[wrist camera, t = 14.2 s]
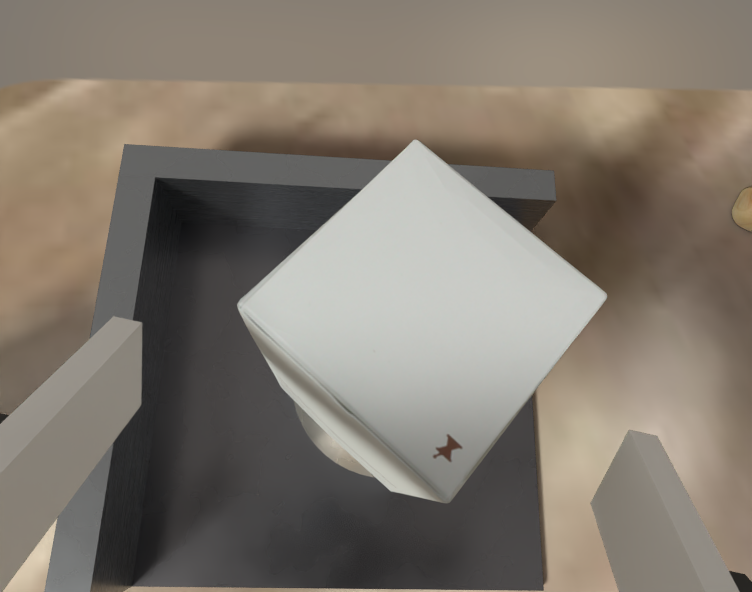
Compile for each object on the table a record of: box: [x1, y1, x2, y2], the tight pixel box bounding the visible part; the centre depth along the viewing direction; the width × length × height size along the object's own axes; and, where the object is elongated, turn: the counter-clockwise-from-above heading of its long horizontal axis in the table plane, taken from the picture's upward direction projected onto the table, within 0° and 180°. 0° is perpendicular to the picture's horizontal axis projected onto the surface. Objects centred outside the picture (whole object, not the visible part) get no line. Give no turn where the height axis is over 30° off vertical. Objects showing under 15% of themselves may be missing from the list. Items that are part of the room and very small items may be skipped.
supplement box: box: [237, 140, 607, 503], centre depth 21 cm, size 7×7×13 cm
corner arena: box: [44, 144, 556, 592], centre depth 25 cm, size 19×18×5 cm
